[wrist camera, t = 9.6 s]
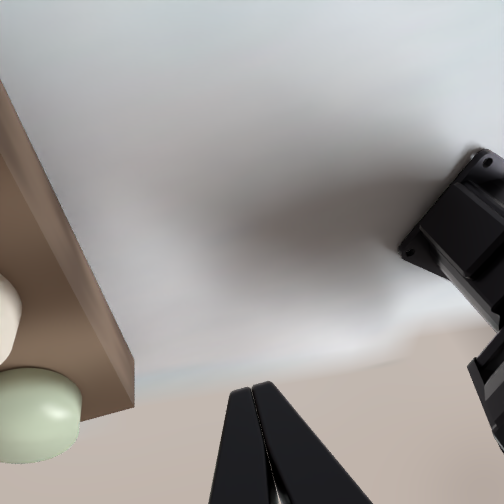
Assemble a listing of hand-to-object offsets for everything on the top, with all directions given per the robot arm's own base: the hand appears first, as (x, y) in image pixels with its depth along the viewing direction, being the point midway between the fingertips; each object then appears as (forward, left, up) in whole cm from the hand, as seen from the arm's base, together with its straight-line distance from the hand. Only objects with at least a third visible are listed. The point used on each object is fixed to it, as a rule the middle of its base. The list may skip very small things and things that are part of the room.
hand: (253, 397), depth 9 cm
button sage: (+2, +13, -9) cm, 16 cm away
